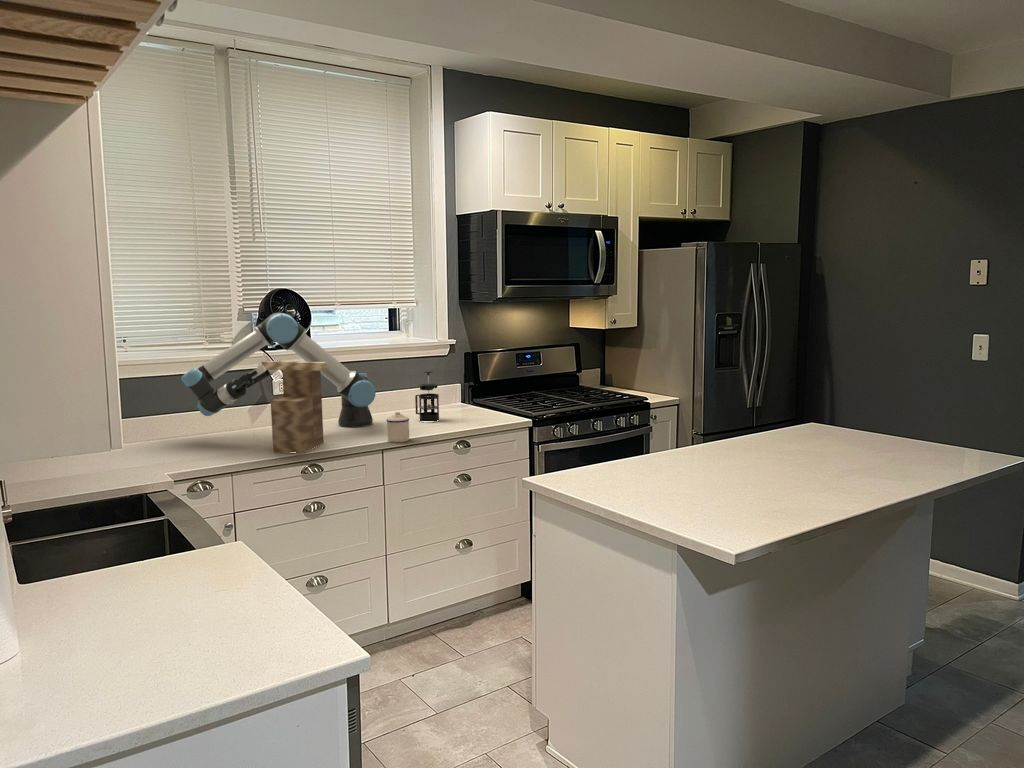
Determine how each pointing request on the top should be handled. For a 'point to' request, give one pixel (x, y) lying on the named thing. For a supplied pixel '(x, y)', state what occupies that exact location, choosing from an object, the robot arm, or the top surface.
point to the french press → (426, 415)
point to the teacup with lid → (398, 428)
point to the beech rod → (294, 365)
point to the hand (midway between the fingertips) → (273, 365)
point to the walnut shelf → (298, 412)
